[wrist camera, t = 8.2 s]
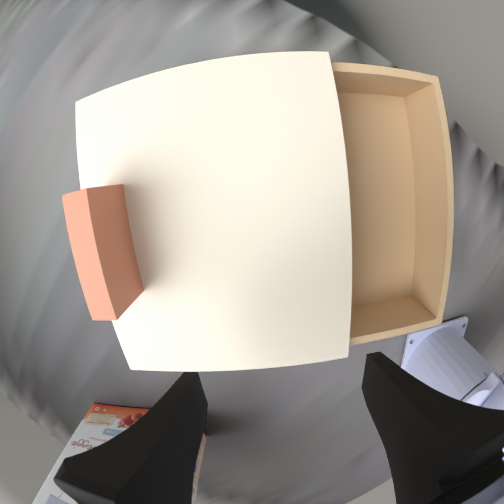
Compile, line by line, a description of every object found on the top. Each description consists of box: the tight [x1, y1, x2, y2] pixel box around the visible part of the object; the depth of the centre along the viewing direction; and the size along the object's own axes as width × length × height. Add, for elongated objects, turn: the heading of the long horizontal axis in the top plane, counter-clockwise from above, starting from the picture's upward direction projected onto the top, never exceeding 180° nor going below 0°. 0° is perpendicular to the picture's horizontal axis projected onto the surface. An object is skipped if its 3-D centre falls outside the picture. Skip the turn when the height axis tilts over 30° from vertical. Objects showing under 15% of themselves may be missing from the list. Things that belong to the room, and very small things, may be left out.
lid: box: [62, 51, 352, 371], centre depth 12 cm, size 18×14×4 cm
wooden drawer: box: [331, 62, 454, 346], centre depth 16 cm, size 17×14×5 cm
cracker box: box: [32, 403, 207, 504], centre depth 15 cm, size 14×6×21 cm, turn 101°
